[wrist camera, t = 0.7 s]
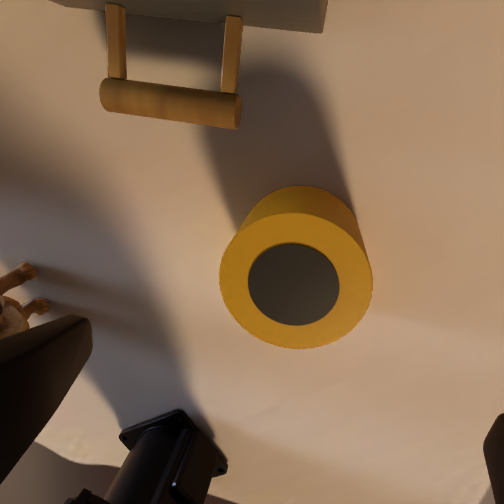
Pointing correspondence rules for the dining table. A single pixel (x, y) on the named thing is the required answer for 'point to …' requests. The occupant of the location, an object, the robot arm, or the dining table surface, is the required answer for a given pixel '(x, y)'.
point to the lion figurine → (9, 310)
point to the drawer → (227, 101)
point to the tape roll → (297, 269)
